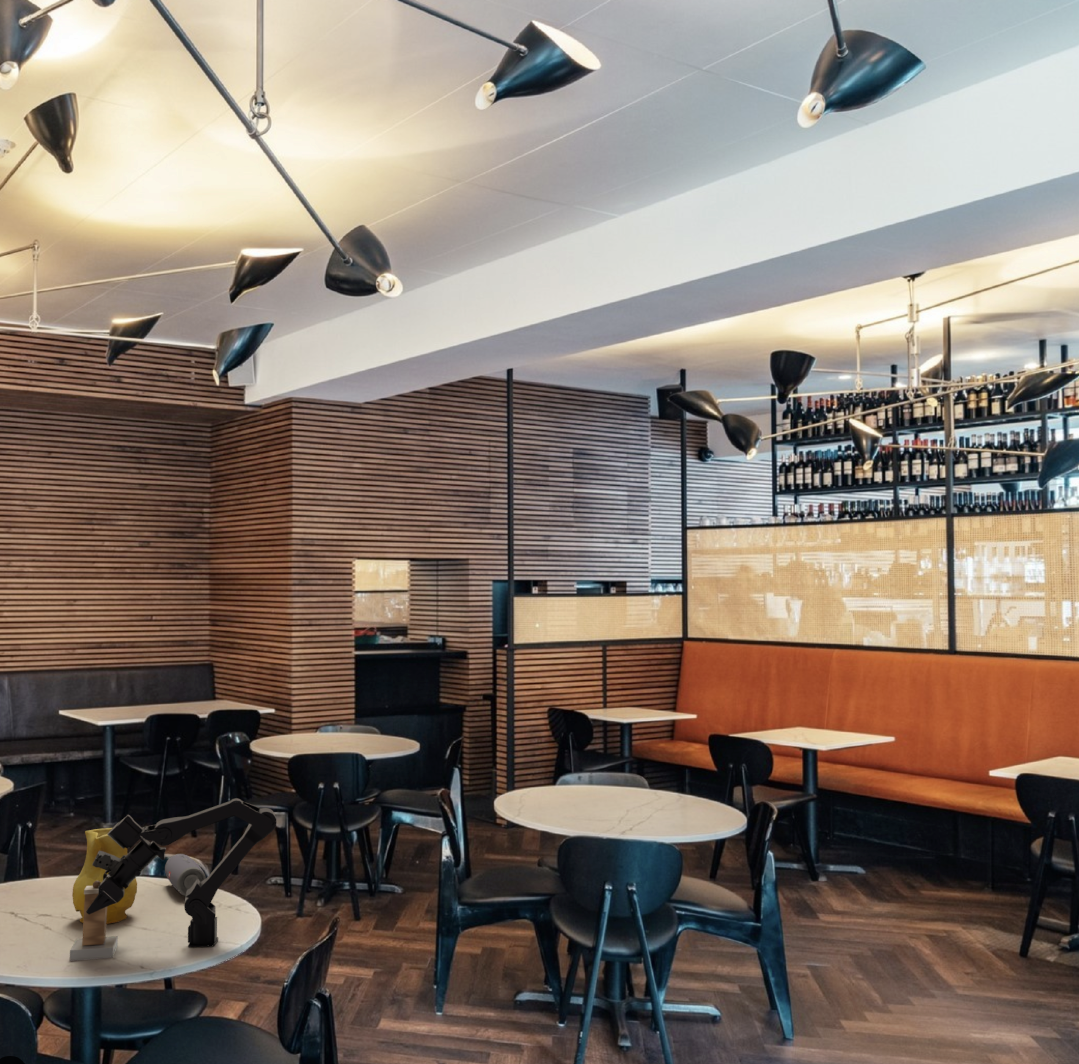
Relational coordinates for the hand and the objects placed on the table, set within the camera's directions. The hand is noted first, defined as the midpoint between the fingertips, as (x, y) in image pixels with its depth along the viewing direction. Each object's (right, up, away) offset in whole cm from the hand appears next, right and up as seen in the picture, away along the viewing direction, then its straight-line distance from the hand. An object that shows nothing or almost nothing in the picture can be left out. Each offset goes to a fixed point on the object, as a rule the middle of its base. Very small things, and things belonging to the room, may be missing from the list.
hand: (89, 908), depth 279 cm
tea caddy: (+1, -9, 0) cm, 9 cm away
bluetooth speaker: (+5, -16, +59) cm, 62 cm away
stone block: (+1, -12, 0) cm, 12 cm away
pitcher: (-8, -14, +31) cm, 35 cm away
